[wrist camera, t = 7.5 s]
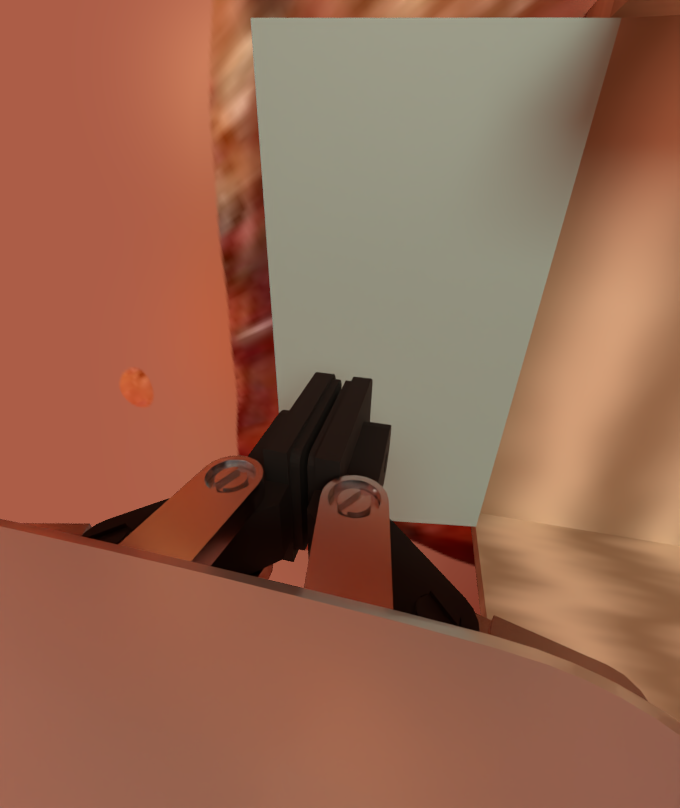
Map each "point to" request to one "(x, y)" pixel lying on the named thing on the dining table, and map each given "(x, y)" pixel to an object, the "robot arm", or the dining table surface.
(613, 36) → the panel
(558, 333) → the wooden tray crate
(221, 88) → the dining table surface
